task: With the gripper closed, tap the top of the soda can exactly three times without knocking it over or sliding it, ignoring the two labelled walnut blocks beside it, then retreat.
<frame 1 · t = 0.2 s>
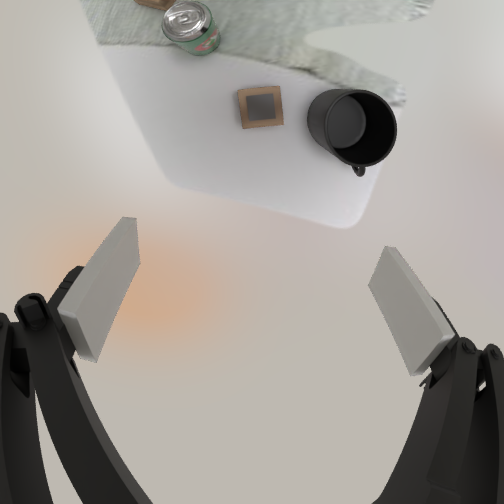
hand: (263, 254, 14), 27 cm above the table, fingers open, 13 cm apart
mug: (339, 128, 36), on the table
soda can: (202, 40, 28), on the table
walnut block a: (258, 105, 34), on the table
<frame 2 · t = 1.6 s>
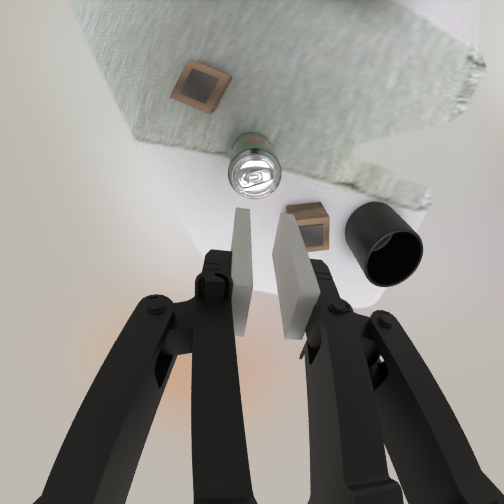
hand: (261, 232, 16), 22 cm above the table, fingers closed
walnut block b: (205, 86, 30), on the table
mug: (371, 234, 42), on the table
soda can: (251, 150, 35), on the table
walnut block a: (304, 219, 40), on the table
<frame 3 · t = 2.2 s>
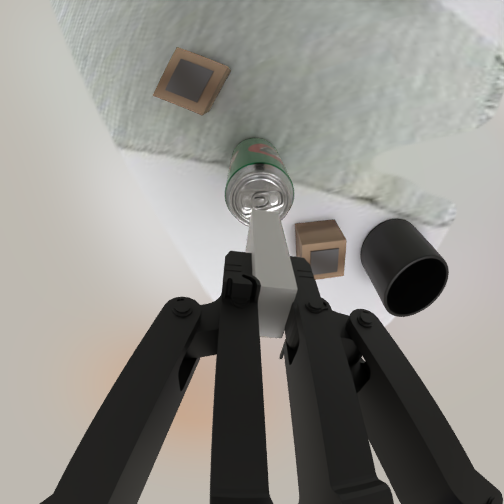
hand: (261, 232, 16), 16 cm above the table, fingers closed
walnut block b: (198, 81, 24), on the table
mug: (389, 254, 37), on the table
soda can: (255, 158, 29), on the table
walnut block a: (315, 238, 35), on the table
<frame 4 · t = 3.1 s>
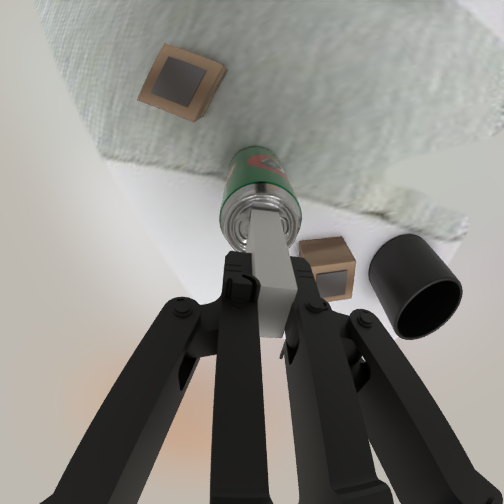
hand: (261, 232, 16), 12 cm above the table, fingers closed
walnut block b: (190, 83, 21), on the table
mug: (398, 271, 34), on the table
soda can: (254, 170, 26), on the table, touching gripper
walnut block a: (320, 256, 32), on the table
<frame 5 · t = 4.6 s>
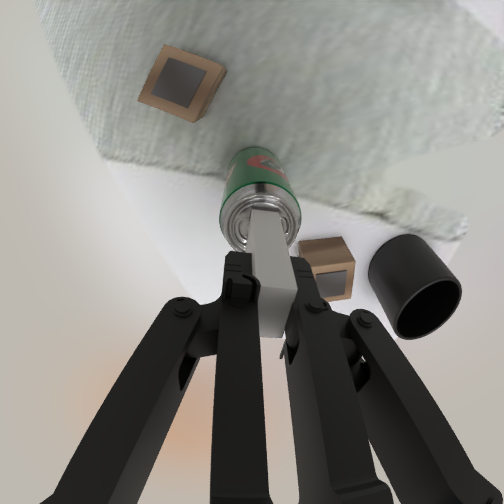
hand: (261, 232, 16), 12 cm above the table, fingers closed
walnut block b: (190, 84, 21), on the table
mug: (398, 271, 34), on the table
soda can: (254, 170, 26), on the table
walnut block a: (320, 257, 32), on the table
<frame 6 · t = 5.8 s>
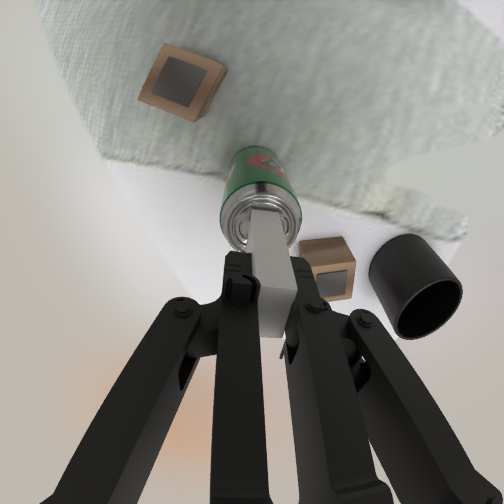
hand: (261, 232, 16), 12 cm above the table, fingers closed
walnut block b: (190, 83, 21), on the table
mug: (398, 271, 34), on the table
soda can: (255, 170, 26), on the table, touching gripper
walnut block a: (320, 256, 32), on the table
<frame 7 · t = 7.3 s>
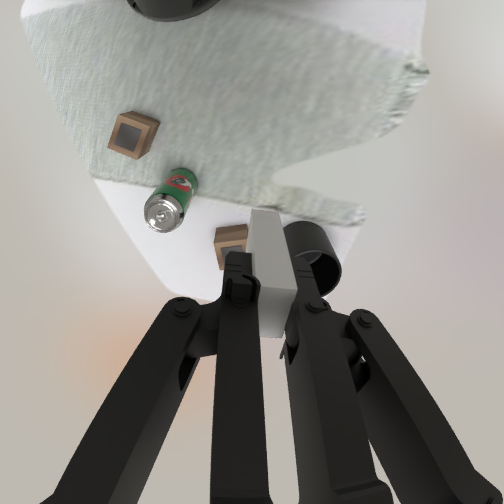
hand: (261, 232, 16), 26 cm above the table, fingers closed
walnut block b: (140, 131, 36), on the table
mug: (302, 250, 48), on the table
soda can: (182, 182, 41), on the table
walnut block a: (234, 238, 47), on the table
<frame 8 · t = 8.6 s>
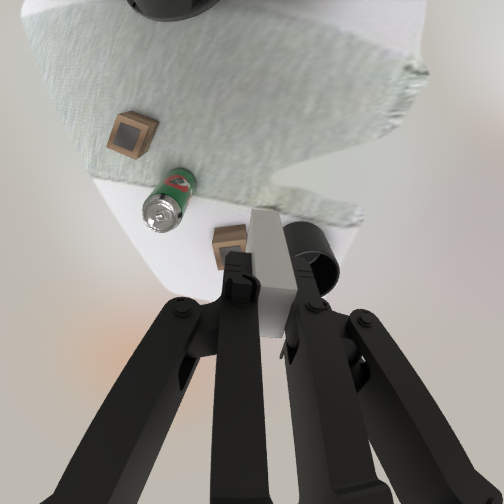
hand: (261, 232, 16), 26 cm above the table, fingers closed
walnut block b: (139, 131, 36), on the table
mug: (300, 251, 48), on the table
soda can: (180, 182, 41), on the table
walnut block a: (232, 239, 47), on the table
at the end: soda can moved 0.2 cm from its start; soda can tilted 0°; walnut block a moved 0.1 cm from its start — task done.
